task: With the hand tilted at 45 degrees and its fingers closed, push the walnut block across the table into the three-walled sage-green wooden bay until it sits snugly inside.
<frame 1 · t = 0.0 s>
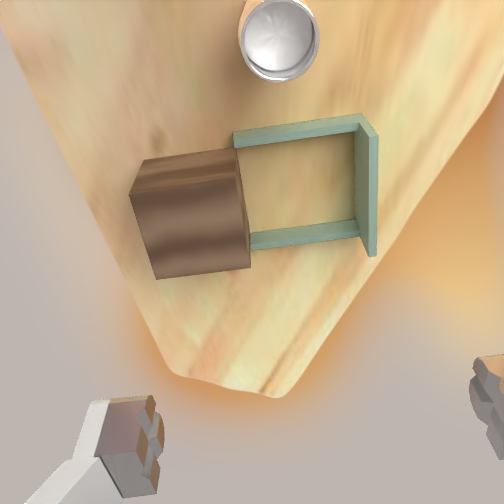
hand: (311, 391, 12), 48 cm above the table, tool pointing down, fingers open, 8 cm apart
walnut block: (199, 194, 62), on the table
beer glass: (269, 17, 50), on the table
green bay: (272, 185, 61), on the table
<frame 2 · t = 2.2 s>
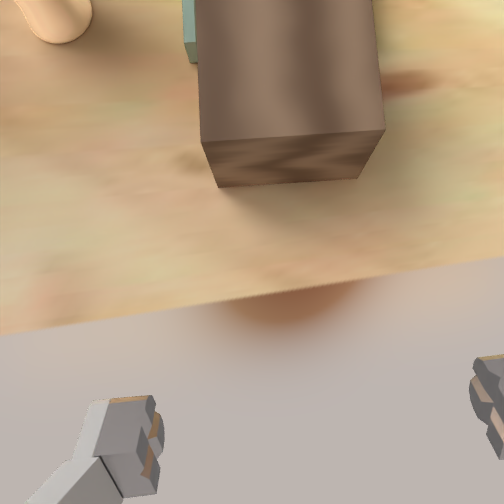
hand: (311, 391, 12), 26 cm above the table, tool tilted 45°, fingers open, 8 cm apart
walnut block: (282, 118, 40), on the table
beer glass: (62, 16, 43), on the table
green bay: (274, 16, 42), on the table
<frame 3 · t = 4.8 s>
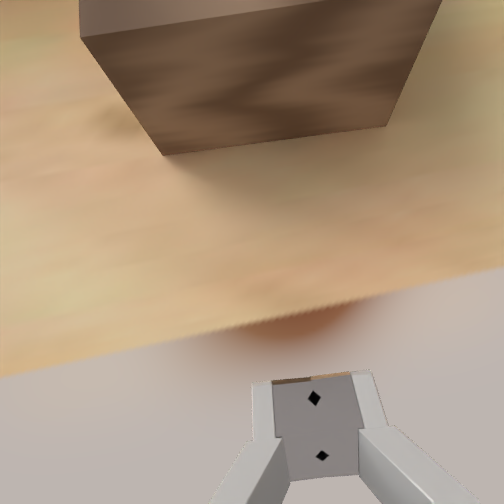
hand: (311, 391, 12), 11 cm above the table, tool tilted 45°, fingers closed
walnut block: (260, 42, 26), on the table
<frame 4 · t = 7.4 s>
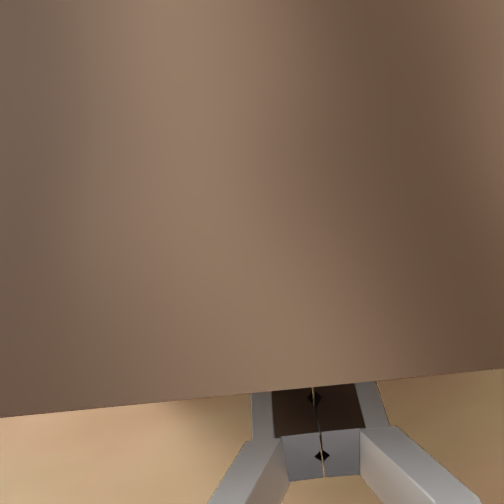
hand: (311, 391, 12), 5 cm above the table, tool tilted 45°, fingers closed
walnut block: (285, 198, 18), on the table, touching gripper
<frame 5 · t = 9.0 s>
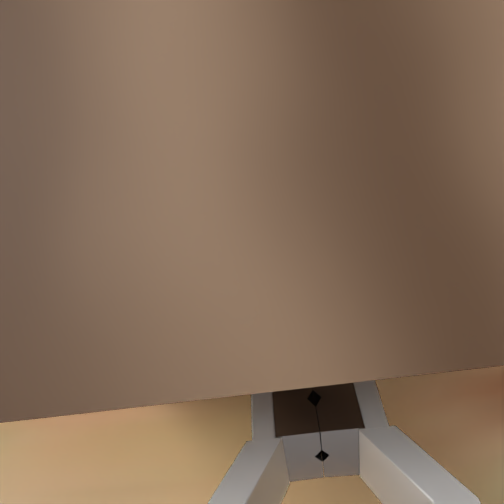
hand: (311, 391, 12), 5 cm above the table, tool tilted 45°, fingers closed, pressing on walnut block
walnut block: (278, 199, 18), on the table, touching gripper
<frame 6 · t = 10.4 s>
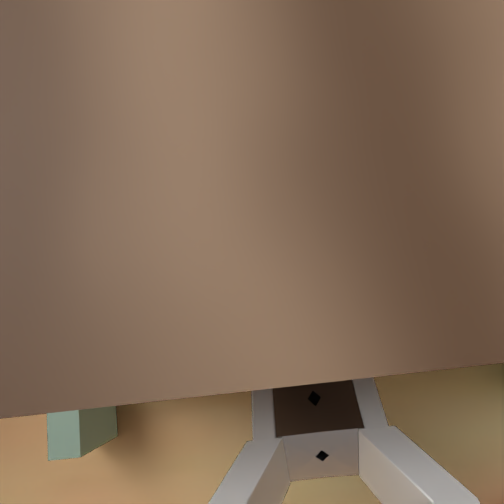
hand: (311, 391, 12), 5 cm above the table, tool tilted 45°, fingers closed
walnut block: (280, 201, 18), on the table
green bay: (295, 302, 17), on the table
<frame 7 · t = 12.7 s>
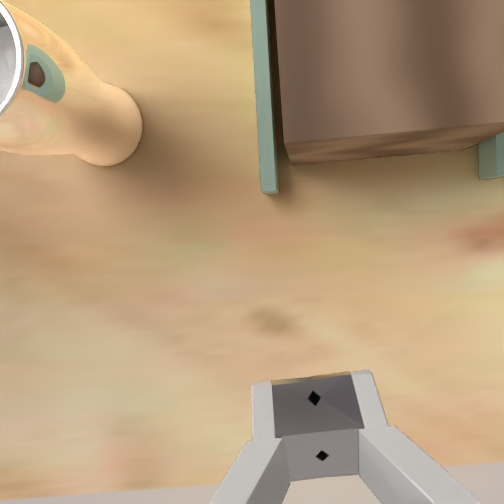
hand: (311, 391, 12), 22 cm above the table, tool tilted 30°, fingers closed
walnut block: (370, 72, 32), on the table
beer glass: (106, 126, 35), on the table
green bay: (374, 130, 32), on the table
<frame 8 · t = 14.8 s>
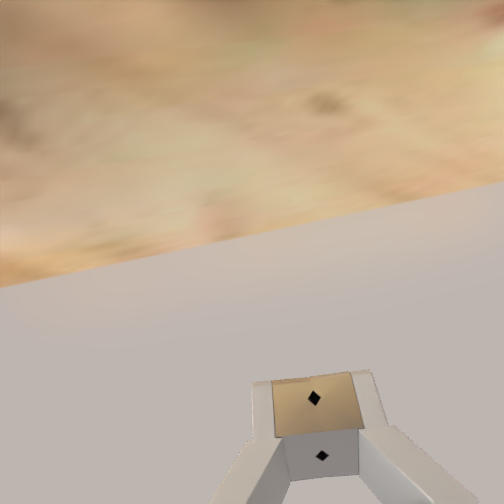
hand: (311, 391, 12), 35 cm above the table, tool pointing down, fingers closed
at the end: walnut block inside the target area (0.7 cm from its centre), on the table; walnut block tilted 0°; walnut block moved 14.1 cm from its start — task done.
